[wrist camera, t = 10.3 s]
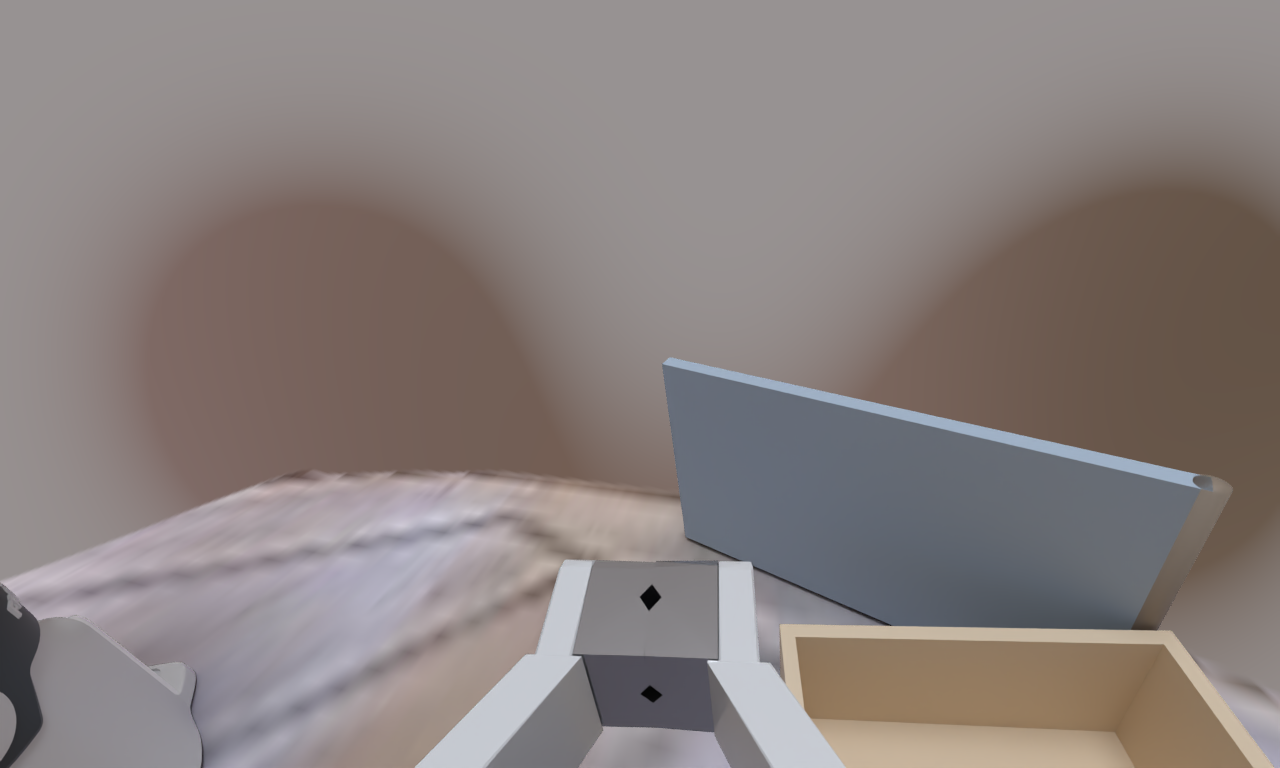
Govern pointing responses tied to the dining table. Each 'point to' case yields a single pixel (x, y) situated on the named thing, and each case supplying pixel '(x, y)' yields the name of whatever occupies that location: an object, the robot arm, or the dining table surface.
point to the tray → (1010, 698)
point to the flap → (930, 509)
